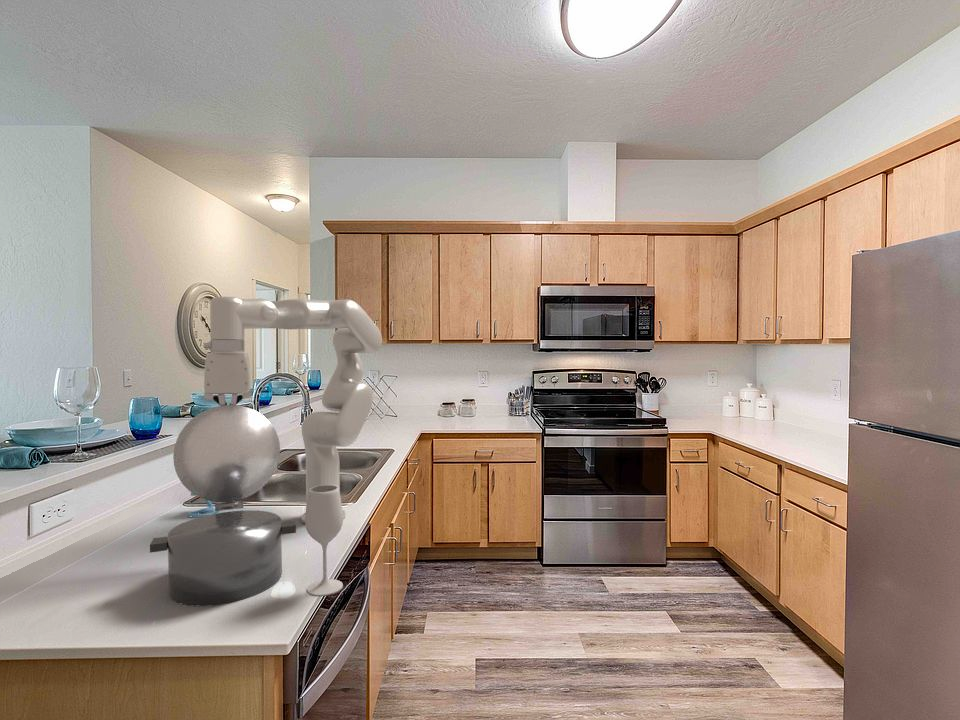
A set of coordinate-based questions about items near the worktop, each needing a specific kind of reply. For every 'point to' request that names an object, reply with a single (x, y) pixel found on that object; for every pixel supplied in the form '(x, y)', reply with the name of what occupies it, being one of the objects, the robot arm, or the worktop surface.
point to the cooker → (224, 556)
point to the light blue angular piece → (195, 513)
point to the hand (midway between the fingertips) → (228, 422)
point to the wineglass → (324, 530)
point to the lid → (226, 454)
